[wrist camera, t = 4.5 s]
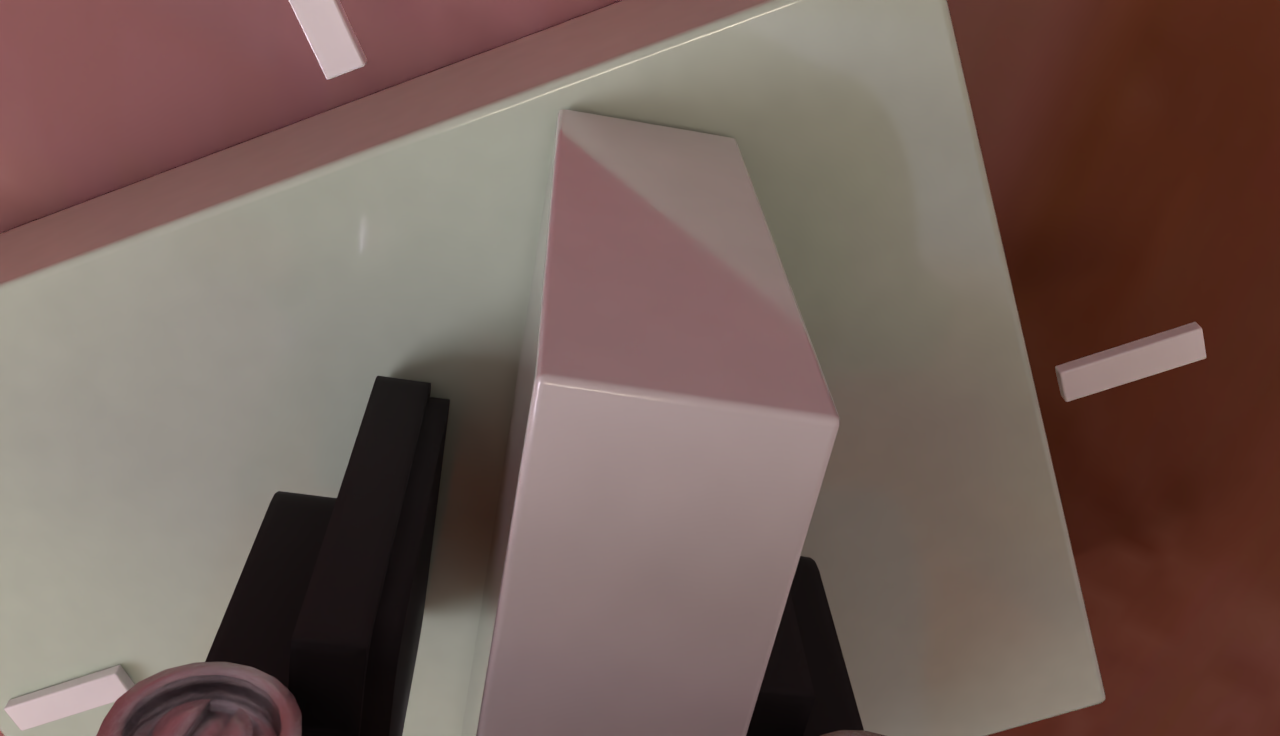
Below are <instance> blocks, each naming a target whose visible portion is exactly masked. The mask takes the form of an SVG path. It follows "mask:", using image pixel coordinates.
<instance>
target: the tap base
mask: <svg viewBox="0 0 1280 736" xmlns="http://www.w3.org/2000/svg"><path fill="white" fill-rule="evenodd" d="M288 1H289V3H290V5H291V7H292V9H293V11H294V13H295V15H296V17H297V19H298V21H299V23H300V25H301V27H302V30H303V32H304V34H305V36H306V38H307V40H308V42H309V44H310V46H311V48H312V50H313V52H314V54H315V56H316V59H317V61H318V63H319V65H320V67H321V69H322V71H323V73H324V75H325V77H326V79H327V80H330V79H332V78H335V77H337V76H340V75H343V74H345V73H348V72H351V71H353V70H356V69H359V68H361V67H364V66H365V65H366V63H367V59H366V56H365V54H364V52H363V50H362V48H361V46H360V44H359V41H358V39H357V37H356V35H355V33H354V31H353V28H352V26H351V24H350V22H349V20H348V18H347V15H346V13H345V11H344V9H343V7H342V5H341V2H340V0H288ZM563 109H567V110H572V111H578V112H584V113H590V114H596V115H602V116H607V117H613V118H619V119H625V120H631V121H637V122H642V123H648V124H654V125H660V126H666V127H672V128H677V129H683V130H689V131H695V132H701V133H707V134H712V135H718V136H724V137H730V138H734V139H735V140H736V141H737V143H738V146H739V149H740V151H741V154H742V157H743V159H744V162H745V165H746V168H747V170H748V173H749V176H750V178H751V181H752V184H753V186H754V189H755V192H756V194H757V197H758V200H759V203H760V205H761V208H762V211H763V213H764V216H765V219H766V221H767V224H768V227H769V229H770V232H771V235H772V238H773V240H774V243H775V246H776V248H777V251H778V254H779V256H780V259H781V262H782V264H783V267H784V270H785V273H786V275H787V278H788V281H789V283H790V286H791V289H792V291H793V294H794V297H795V299H796V302H797V305H798V308H799V310H800V313H801V316H802V318H803V321H804V324H805V326H806V329H807V332H808V334H809V337H810V340H811V343H812V345H813V348H814V351H815V353H816V356H817V359H818V361H819V364H820V367H821V370H822V372H823V375H824V378H825V380H826V383H827V386H828V388H829V391H830V394H831V396H832V399H833V402H834V405H835V407H836V410H837V413H838V415H839V419H840V426H839V430H838V433H837V436H836V440H835V443H834V446H833V450H832V453H831V456H830V460H829V463H828V466H827V470H826V473H825V476H824V479H823V483H822V486H821V489H820V493H819V496H818V499H817V503H816V506H815V509H814V513H813V516H812V519H811V523H810V526H809V529H808V533H807V536H806V539H805V543H804V546H803V549H802V553H801V556H803V557H810V558H812V559H813V560H814V561H815V562H816V564H817V567H818V569H819V572H820V575H821V579H822V582H823V586H824V590H825V593H826V597H827V600H828V604H829V607H830V611H831V615H832V618H833V622H834V625H835V629H836V632H837V636H838V639H839V643H840V647H841V650H842V654H843V657H844V661H845V664H846V668H847V672H848V675H849V679H850V682H851V686H852V689H853V693H854V697H855V700H856V704H857V707H858V711H859V714H860V718H861V722H862V725H863V729H864V730H865V731H869V732H873V733H877V734H881V735H885V736H987V735H991V734H994V733H998V732H1001V731H1005V730H1008V729H1012V728H1015V727H1019V726H1023V725H1026V724H1030V723H1033V722H1037V721H1040V720H1044V719H1047V718H1051V717H1055V716H1058V715H1062V714H1065V713H1069V712H1072V711H1076V710H1079V709H1083V708H1086V707H1090V706H1094V705H1097V704H1101V703H1102V702H1104V701H1105V689H1104V685H1103V681H1102V676H1101V672H1100V668H1099V663H1098V659H1097V654H1096V650H1095V646H1094V641H1093V637H1092V632H1091V628H1090V624H1089V619H1088V615H1087V611H1086V606H1085V602H1084V597H1083V593H1082V589H1081V584H1080V580H1079V575H1078V571H1077V567H1076V562H1075V558H1074V553H1073V549H1072V545H1071V540H1070V536H1069V532H1068V527H1067V523H1066V518H1065V514H1064V510H1063V505H1062V501H1061V496H1060V492H1059V488H1058V483H1057V479H1056V474H1055V470H1054V466H1053V461H1052V457H1051V453H1050V448H1049V444H1048V439H1047V435H1046V431H1045V426H1044V422H1043V417H1042V413H1041V409H1040V404H1039V400H1038V395H1037V391H1036V387H1035V382H1034V378H1033V374H1032V369H1031V365H1030V360H1029V356H1028V352H1027V347H1026V343H1025V338H1024V334H1023V330H1022V325H1021V321H1020V316H1019V312H1018V308H1017V303H1016V299H1015V295H1014V290H1013V286H1012V281H1011V277H1010V273H1009V268H1008V264H1007V259H1006V255H1005V251H1004V246H1003V242H1002V238H1001V233H1000V229H999V224H998V220H997V216H996V211H995V207H994V202H993V198H992V194H991V189H990V185H989V180H988V176H987V172H986V167H985V163H984V159H983V154H982V150H981V145H980V141H979V137H978V132H977V128H976V123H975V119H974V115H973V110H972V106H971V101H970V97H969V93H968V88H967V84H966V80H965V75H964V71H963V66H962V62H961V58H960V53H959V49H958V44H957V40H956V36H955V31H954V27H953V22H952V18H951V14H950V9H949V5H948V1H947V0H623V1H620V2H617V3H615V4H612V5H609V6H607V7H604V8H601V9H599V10H596V11H593V12H591V13H588V14H585V15H583V16H580V17H577V18H575V19H572V20H569V21H567V22H564V23H561V24H559V25H556V26H553V27H551V28H548V29H545V30H543V31H540V32H537V33H535V34H532V35H529V36H526V37H524V38H521V39H518V40H516V41H513V42H510V43H508V44H505V45H502V46H500V47H497V48H494V49H492V50H489V51H486V52H484V53H481V54H478V55H476V56H473V57H470V58H468V59H465V60H462V61H460V62H457V63H454V64H452V65H449V66H446V67H444V68H441V69H438V70H436V71H433V72H430V73H428V74H425V75H422V76H420V77H417V78H414V79H412V80H409V81H406V82H404V83H401V84H398V85H396V86H393V87H390V88H388V89H385V90H382V91H380V92H377V93H374V94H372V95H369V96H366V97H364V98H361V99H358V100H356V101H353V102H350V103H348V104H345V105H342V106H340V107H337V108H334V109H332V110H329V111H326V112H324V113H321V114H318V115H316V116H313V117H310V118H308V119H305V120H302V121H300V122H297V123H294V124H292V125H289V126H286V127H284V128H281V129H278V130H276V131H273V132H270V133H268V134H265V135H262V136H260V137H257V138H254V139H252V140H249V141H246V142H244V143H241V144H238V145H236V146H233V147H230V148H228V149H225V150H222V151H219V152H217V153H214V154H211V155H209V156H206V157H203V158H201V159H198V160H195V161H193V162H190V163H187V164H185V165H182V166H179V167H177V168H174V169H171V170H169V171H166V172H163V173H161V174H158V175H155V176H153V177H150V178H147V179H145V180H142V181H139V182H137V183H134V184H131V185H129V186H126V187H123V188H121V189H118V190H115V191H113V192H110V193H107V194H105V195H102V196H99V197H97V198H94V199H91V200H89V201H86V202H83V203H81V204H78V205H75V206H73V207H70V208H67V209H65V210H62V211H59V212H57V213H54V214H51V215H49V216H46V217H43V218H41V219H38V220H35V221H33V222H30V223H27V224H25V225H22V226H19V227H17V228H14V229H11V230H9V231H6V232H3V233H1V234H0V731H1V732H2V733H3V735H4V736H96V735H97V733H98V731H99V728H100V726H101V724H102V721H103V720H104V718H105V717H106V715H107V714H108V712H109V711H110V709H111V708H112V706H113V705H114V703H115V702H116V700H117V699H118V698H119V697H121V696H122V695H123V694H124V693H125V692H127V691H128V690H129V689H130V688H132V687H133V686H134V685H135V684H137V683H138V682H139V681H141V680H144V679H146V678H148V677H150V676H152V675H154V674H156V673H159V672H161V671H163V670H165V669H169V668H173V667H177V666H182V665H186V664H190V663H195V662H205V661H206V658H207V656H208V653H209V651H210V649H211V646H212V644H213V641H214V639H215V636H216V634H217V631H218V629H219V627H220V624H221V622H222V619H223V617H224V614H225V612H226V609H227V607H228V604H229V602H230V600H231V597H232V595H233V592H234V590H235V587H236V585H237V582H238V580H239V578H240V575H241V573H242V570H243V568H244V565H245V563H246V560H247V558H248V555H249V553H250V551H251V548H252V546H253V543H254V541H255V538H256V536H257V533H258V531H259V529H260V526H261V524H262V521H263V519H264V516H265V514H266V511H267V509H268V507H269V504H270V502H271V500H272V498H273V496H274V494H275V493H276V492H278V491H283V492H291V493H299V494H307V495H315V496H323V497H331V498H337V496H338V493H339V490H340V487H341V484H342V481H343V478H344V475H345V472H346V469H347V465H348V462H349V459H350V456H351V453H352V450H353V447H354V444H355V441H356V438H357V435H358V431H359V428H360V425H361V422H362V419H363V416H364V413H365V410H366V407H367V404H368V401H369V397H370V394H371V391H372V388H373V385H374V382H375V379H376V377H377V376H385V377H392V378H399V379H406V380H414V381H421V382H428V383H431V395H430V397H435V398H442V399H449V400H450V405H449V414H448V423H447V431H446V439H445V447H444V455H443V463H442V471H441V479H440V487H439V495H438V503H437V511H436V519H435V527H434V535H433V543H432V551H431V559H430V568H429V576H428V584H427V592H426V600H425V608H424V615H423V622H422V628H421V635H420V641H419V646H418V652H417V657H416V663H415V668H414V674H413V679H412V685H411V690H410V696H409V701H408V707H407V712H406V718H405V723H404V729H403V734H402V736H461V732H462V726H463V719H464V713H465V706H466V700H467V693H468V687H469V681H470V674H471V668H472V661H473V655H474V648H475V642H476V636H477V629H478V623H479V616H480V610H481V603H482V597H483V590H484V584H485V578H486V571H487V565H488V558H489V552H490V545H491V539H492V533H493V526H494V520H495V513H496V507H497V500H498V494H499V488H500V481H501V475H502V468H503V462H504V455H505V449H506V443H507V436H508V430H509V423H510V417H511V410H512V404H513V398H514V391H515V385H516V378H517V372H518V365H519V359H520V352H521V346H522V340H523V333H524V327H525V320H526V314H527V307H528V301H529V295H530V288H531V282H532V275H533V269H534V262H535V256H536V250H537V243H538V237H539V230H540V224H541V217H542V211H543V205H544V198H545V192H546V185H547V179H548V172H549V166H550V160H551V153H552V147H553V140H554V134H555V127H556V121H557V114H558V112H559V111H560V110H563ZM1205 358H1206V351H1205V344H1204V337H1203V330H1202V328H1201V327H1200V326H1199V325H1198V324H1197V323H1196V322H1192V323H1189V324H1186V325H1183V326H1180V327H1176V328H1173V329H1170V330H1167V331H1164V332H1161V333H1158V334H1155V335H1151V336H1148V337H1145V338H1142V339H1139V340H1136V341H1133V342H1129V343H1126V344H1123V345H1120V346H1117V347H1114V348H1111V349H1107V350H1104V351H1101V352H1098V353H1095V354H1092V355H1089V356H1086V357H1082V358H1079V359H1076V360H1073V361H1070V362H1067V363H1064V364H1060V365H1057V366H1055V370H1056V375H1057V380H1058V384H1059V389H1060V393H1061V396H1062V397H1063V399H1064V400H1065V401H1066V402H1069V401H1072V400H1075V399H1079V398H1082V397H1085V396H1088V395H1091V394H1095V393H1098V392H1101V391H1104V390H1107V389H1110V388H1114V387H1117V386H1120V385H1123V384H1126V383H1129V382H1133V381H1136V380H1139V379H1142V378H1145V377H1149V376H1152V375H1155V374H1158V373H1161V372H1164V371H1168V370H1171V369H1174V368H1177V367H1180V366H1183V365H1187V364H1190V363H1193V362H1196V361H1199V360H1203V359H1205Z"/></svg>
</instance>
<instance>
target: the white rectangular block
mask: <svg viewBox="0 0 1280 736" xmlns="http://www.w3.org/2000/svg"><path fill="white" fill-rule="evenodd" d="M839 426H840V419H839V415H838V413H837V410H836V407H835V405H834V402H833V399H832V396H831V394H830V391H829V388H828V386H827V383H826V380H825V378H824V375H823V372H822V370H821V367H820V364H819V361H818V359H817V356H816V353H815V351H814V348H813V345H812V343H811V340H810V337H809V334H808V332H807V329H806V326H805V324H804V321H803V318H802V316H801V313H800V310H799V308H798V305H797V302H796V299H795V297H794V294H793V291H792V289H791V286H790V283H789V281H788V278H787V275H786V273H785V270H784V267H783V264H782V262H781V259H780V256H779V254H778V251H777V248H776V246H775V243H774V240H773V238H772V235H771V232H770V229H769V227H768V224H767V221H766V219H765V216H764V213H763V211H762V208H761V205H760V203H759V200H758V197H757V194H756V192H755V189H754V186H753V184H752V181H751V178H750V176H749V173H748V170H747V168H746V165H745V162H744V159H743V157H742V154H741V151H740V149H739V146H738V143H737V141H736V140H735V139H734V138H730V137H724V136H718V135H712V134H707V133H701V132H695V131H689V130H683V129H677V128H672V127H666V126H660V125H654V124H648V123H642V122H637V121H631V120H625V119H619V118H613V117H607V116H602V115H596V114H590V113H584V112H578V111H572V110H567V109H563V110H560V111H559V112H558V114H557V121H556V127H555V134H554V140H553V147H552V153H551V160H550V166H549V172H548V179H547V185H546V192H545V198H544V205H543V211H542V217H541V224H540V230H539V237H538V243H537V250H536V256H535V262H534V269H533V275H532V282H531V288H530V295H529V301H528V307H527V314H526V320H525V327H524V333H523V340H522V346H521V352H520V359H519V365H518V372H517V378H516V385H515V391H514V398H513V404H512V410H511V417H510V423H509V430H508V436H507V443H506V449H505V455H504V462H503V468H502V475H501V481H500V488H499V494H498V500H497V507H496V513H495V520H494V526H493V533H492V539H491V545H490V552H489V558H488V565H487V571H486V578H485V584H484V590H483V597H482V603H481V610H480V616H479V623H478V629H477V636H476V642H475V648H474V655H473V661H472V668H471V674H470V681H469V687H468V693H467V700H466V706H465V713H464V719H463V726H462V732H461V736H746V735H747V732H748V729H749V725H750V722H751V719H752V715H753V712H754V709H755V705H756V702H757V699H758V695H759V692H760V689H761V686H762V682H763V679H764V676H765V672H766V669H767V666H768V662H769V659H770V656H771V652H772V649H773V646H774V642H775V639H776V636H777V632H778V629H779V626H780V622H781V619H782V616H783V612H784V609H785V606H786V602H787V599H788V596H789V592H790V589H791V586H792V582H793V579H794V576H795V573H796V569H797V566H798V563H799V559H800V556H801V553H802V549H803V546H804V543H805V539H806V536H807V533H808V529H809V526H810V523H811V519H812V516H813V513H814V509H815V506H816V503H817V499H818V496H819V493H820V489H821V486H822V483H823V479H824V476H825V473H826V470H827V466H828V463H829V460H830V456H831V453H832V450H833V446H834V443H835V440H836V436H837V433H838V430H839Z"/></svg>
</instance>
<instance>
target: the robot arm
mask: <svg viewBox="0 0 1280 736" xmlns="http://www.w3.org/2000/svg"><path fill="white" fill-rule="evenodd" d="M430 395H431V383H428V382H421V381H414V380H406V379H399V378H392V377H385V376H377V377H376V379H375V382H374V385H373V388H372V391H371V394H370V397H369V401H368V404H367V407H366V410H365V413H364V416H363V419H362V422H361V425H360V428H359V431H358V435H357V438H356V441H355V444H354V447H353V450H352V453H351V456H350V459H349V462H348V465H347V469H346V472H345V475H344V478H343V481H342V484H341V487H340V490H339V493H338V496H337V498H331V497H323V496H315V495H307V494H299V493H291V492H283V491H278V492H276V493H275V494H274V496H273V498H272V500H271V502H270V504H269V507H268V509H267V511H266V514H265V516H264V519H263V521H262V524H261V526H260V529H259V531H258V533H257V536H256V538H255V541H254V543H253V546H252V548H251V551H250V553H249V555H248V558H247V560H246V563H245V565H244V568H243V570H242V573H241V575H240V578H239V580H238V582H237V585H236V587H235V590H234V592H233V595H232V597H231V600H230V602H229V604H228V607H227V609H226V612H225V614H224V617H223V619H222V622H221V624H220V627H219V629H218V631H217V634H216V636H215V639H214V641H213V644H212V646H211V649H210V651H209V653H208V656H207V658H206V661H205V662H195V663H190V664H186V665H182V666H177V667H173V668H169V669H165V670H163V671H161V672H159V673H156V674H154V675H152V676H150V677H148V678H146V679H144V680H141V681H139V682H138V683H137V684H135V685H134V686H133V687H132V688H130V689H129V690H128V691H127V692H125V693H124V694H123V695H122V696H121V697H119V698H118V699H117V700H116V702H115V703H114V705H113V706H112V708H111V709H110V711H109V712H108V714H107V715H106V717H105V718H104V720H103V721H102V724H101V726H100V728H99V731H98V733H97V735H96V736H402V734H403V729H404V723H405V718H406V712H407V707H408V701H409V696H410V690H411V685H412V679H413V674H414V668H415V663H416V657H417V652H418V646H419V641H420V635H421V628H422V622H423V615H424V608H425V600H426V592H427V584H428V576H429V568H430V559H431V551H432V543H433V535H434V527H435V519H436V511H437V503H438V495H439V487H440V479H441V471H442V463H443V455H444V447H445V439H446V431H447V423H448V414H449V405H450V400H449V399H442V398H435V397H430ZM746 736H885V735H881V734H877V733H873V732H869V731H865V730H864V729H863V725H862V722H861V718H860V714H859V711H858V707H857V704H856V700H855V697H854V693H853V689H852V686H851V682H850V679H849V675H848V672H847V668H846V664H845V661H844V657H843V654H842V650H841V647H840V643H839V639H838V636H837V632H836V629H835V625H834V622H833V618H832V615H831V611H830V607H829V604H828V600H827V597H826V593H825V590H824V586H823V582H822V579H821V575H820V572H819V569H818V567H817V564H816V562H815V561H814V560H813V559H812V558H810V557H803V556H800V559H799V563H798V566H797V569H796V573H795V576H794V579H793V582H792V586H791V589H790V592H789V596H788V599H787V602H786V606H785V609H784V612H783V616H782V619H781V622H780V626H779V629H778V632H777V636H776V639H775V642H774V646H773V649H772V652H771V656H770V659H769V662H768V666H767V669H766V672H765V676H764V679H763V682H762V686H761V689H760V692H759V695H758V699H757V702H756V705H755V709H754V712H753V715H752V719H751V722H750V725H749V729H748V732H747V735H746Z"/></svg>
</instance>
